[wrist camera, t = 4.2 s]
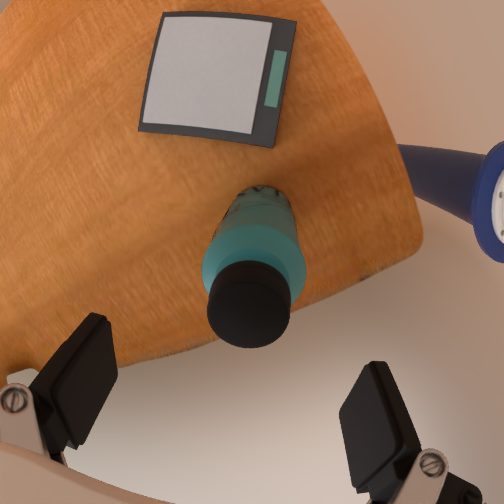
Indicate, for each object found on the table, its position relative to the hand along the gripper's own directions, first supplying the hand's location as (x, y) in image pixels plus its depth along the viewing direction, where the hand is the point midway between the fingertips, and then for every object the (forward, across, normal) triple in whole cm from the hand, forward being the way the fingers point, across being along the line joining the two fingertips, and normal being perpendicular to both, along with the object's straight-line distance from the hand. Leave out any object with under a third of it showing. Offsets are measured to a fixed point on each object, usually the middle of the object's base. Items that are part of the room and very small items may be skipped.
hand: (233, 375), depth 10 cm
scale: (+24, +6, -14) cm, 28 cm away
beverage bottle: (+24, -1, 0) cm, 24 cm away
